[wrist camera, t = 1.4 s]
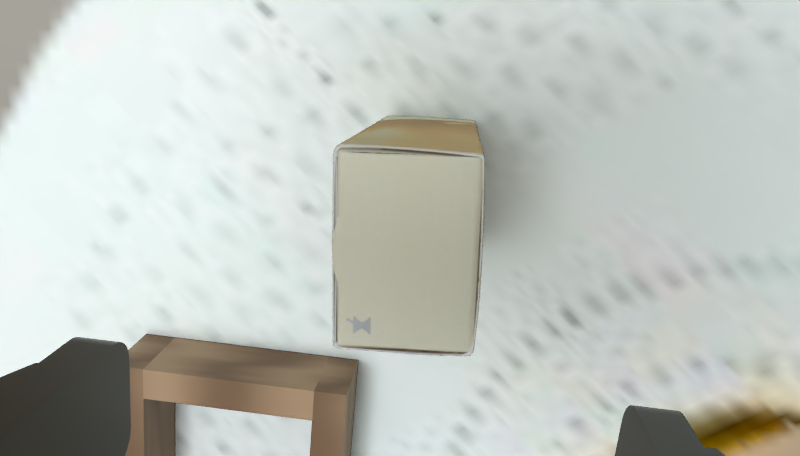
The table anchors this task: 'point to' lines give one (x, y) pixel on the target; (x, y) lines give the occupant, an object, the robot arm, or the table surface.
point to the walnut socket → (237, 390)
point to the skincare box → (408, 237)
